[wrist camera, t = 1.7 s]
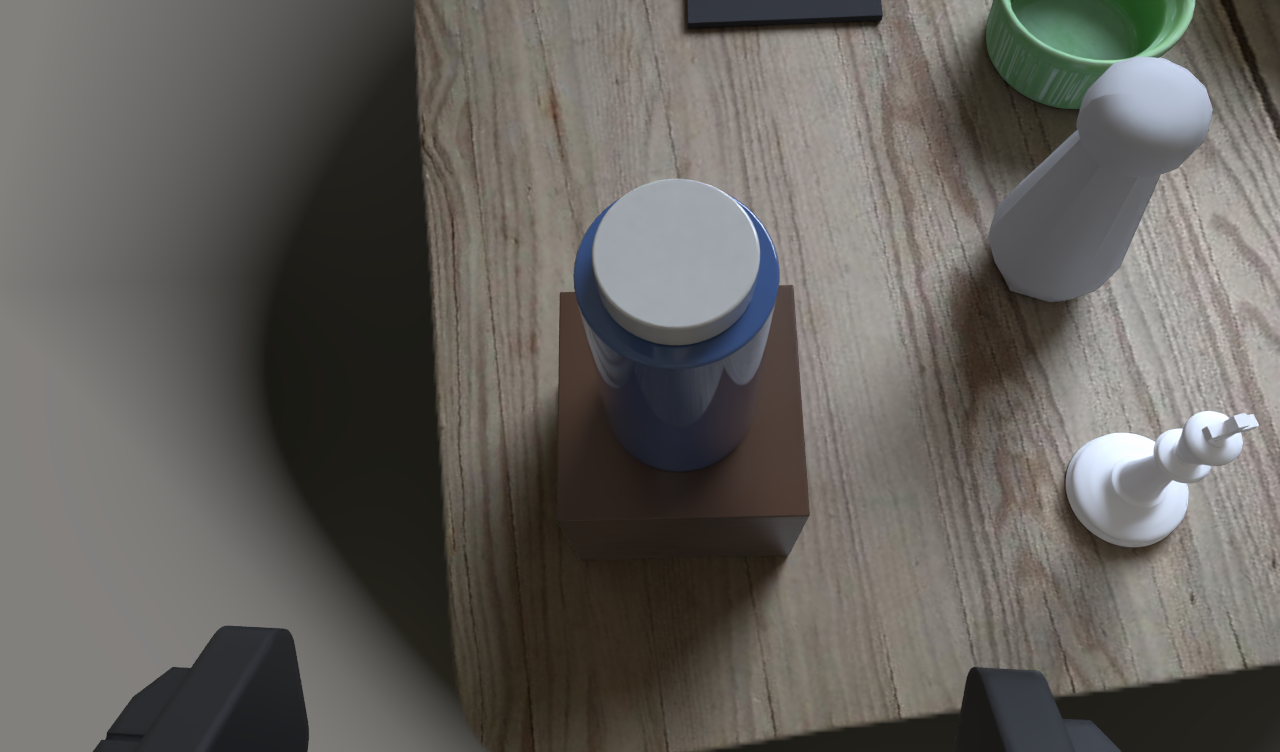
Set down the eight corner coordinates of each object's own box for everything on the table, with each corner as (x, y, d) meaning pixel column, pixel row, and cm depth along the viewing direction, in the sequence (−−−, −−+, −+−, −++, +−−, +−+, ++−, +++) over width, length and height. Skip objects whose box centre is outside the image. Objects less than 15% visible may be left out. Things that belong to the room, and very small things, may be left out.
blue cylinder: (603, 474, 37) (567, 354, 26) (603, 331, 39) (569, 161, 28) (759, 470, 37) (790, 348, 26) (751, 326, 39) (777, 154, 27)
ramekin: (1194, 62, 51) (1239, 2, 47) (1056, 152, 50) (1089, 99, 46) (1071, -53, 54) (1103, -120, 50) (937, 29, 53) (958, -32, 48)
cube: (578, 560, 44) (556, 521, 36) (580, 364, 47) (559, 291, 40) (788, 555, 44) (809, 516, 36) (776, 358, 47) (793, 284, 39)
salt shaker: (1030, 184, 49) (1143, -2, 37) (1128, 260, 48) (1280, 91, 35) (950, 262, 48) (1040, 97, 36) (1048, 342, 46) (1178, 197, 34)
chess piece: (1202, 531, 43) (1345, 470, 34) (1092, 560, 43) (1205, 507, 34) (1154, 423, 45) (1277, 337, 36) (1047, 451, 45) (1143, 371, 35)
